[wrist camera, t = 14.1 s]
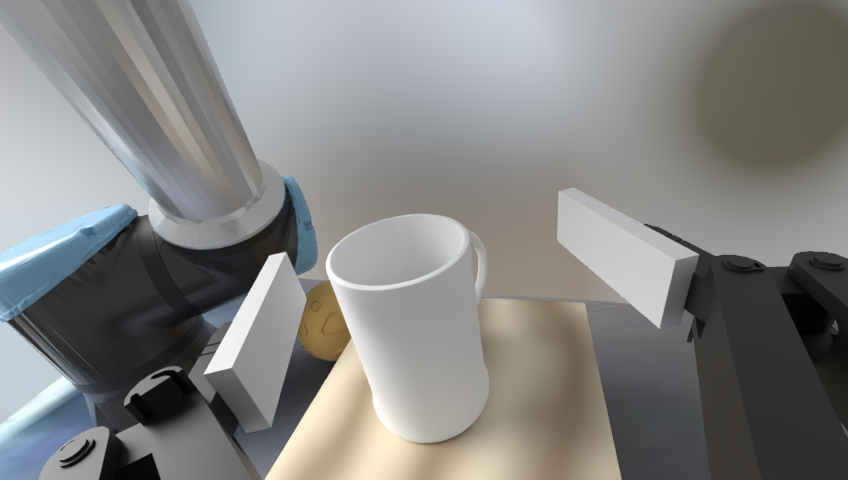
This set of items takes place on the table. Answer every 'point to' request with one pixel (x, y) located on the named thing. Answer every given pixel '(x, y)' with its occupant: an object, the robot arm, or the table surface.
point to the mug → (416, 321)
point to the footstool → (498, 422)
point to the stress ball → (323, 324)
